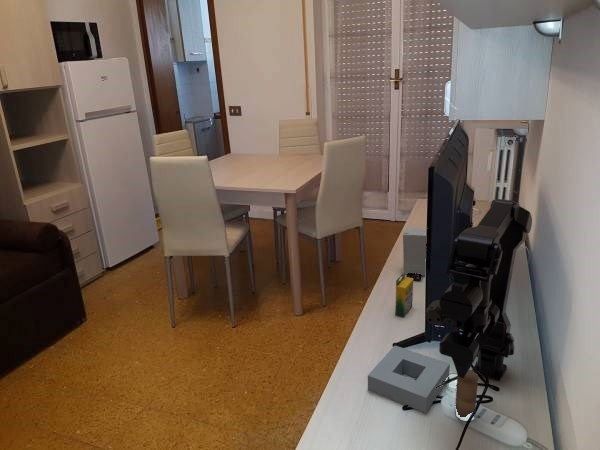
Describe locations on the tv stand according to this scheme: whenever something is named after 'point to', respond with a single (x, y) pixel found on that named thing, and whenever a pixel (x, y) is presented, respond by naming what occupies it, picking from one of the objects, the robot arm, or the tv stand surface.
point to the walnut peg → (466, 393)
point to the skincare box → (414, 250)
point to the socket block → (402, 388)
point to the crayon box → (403, 295)
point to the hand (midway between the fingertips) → (468, 364)
